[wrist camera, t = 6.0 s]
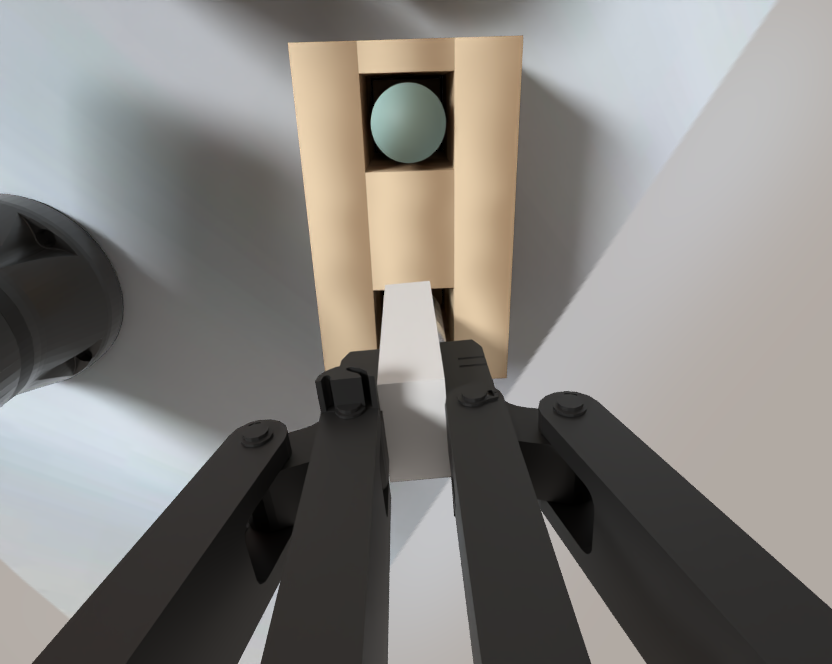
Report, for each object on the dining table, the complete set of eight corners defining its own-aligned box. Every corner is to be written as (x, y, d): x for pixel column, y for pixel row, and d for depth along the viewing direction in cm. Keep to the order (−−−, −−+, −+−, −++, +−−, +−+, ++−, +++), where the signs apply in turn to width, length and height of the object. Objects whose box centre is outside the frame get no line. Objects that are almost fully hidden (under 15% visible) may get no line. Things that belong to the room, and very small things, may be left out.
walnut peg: (380, 148, 37) (373, 164, 29) (376, 85, 36) (368, 83, 27) (437, 146, 37) (446, 162, 29) (436, 83, 36) (445, 81, 27)
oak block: (342, 323, 44) (326, 384, 35) (317, 54, 36) (287, 42, 27) (485, 319, 44) (506, 378, 35) (493, 49, 36) (523, 35, 27)
